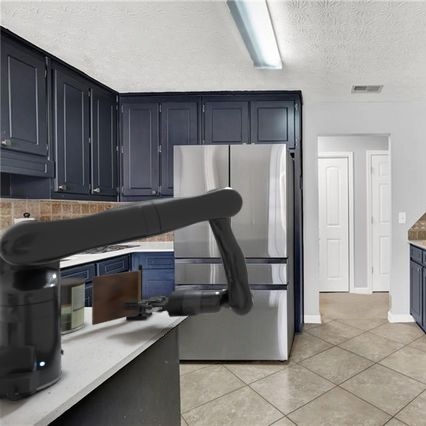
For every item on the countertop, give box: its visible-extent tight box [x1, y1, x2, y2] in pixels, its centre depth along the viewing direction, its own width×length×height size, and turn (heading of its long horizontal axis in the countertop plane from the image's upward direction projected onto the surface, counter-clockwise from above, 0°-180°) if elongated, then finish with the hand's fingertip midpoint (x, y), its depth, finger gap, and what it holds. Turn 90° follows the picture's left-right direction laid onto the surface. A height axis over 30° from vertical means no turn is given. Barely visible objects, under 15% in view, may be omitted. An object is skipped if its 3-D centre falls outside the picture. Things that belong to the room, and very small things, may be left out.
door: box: [91, 269, 141, 326], centre depth 93 cm, size 13×1×14 cm, turn 143°
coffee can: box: [61, 277, 86, 335], centre depth 88 cm, size 10×10×14 cm
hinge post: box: [125, 264, 151, 321], centre depth 98 cm, size 5×6×17 cm
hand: (125, 305), depth 89 cm, fingers closed
